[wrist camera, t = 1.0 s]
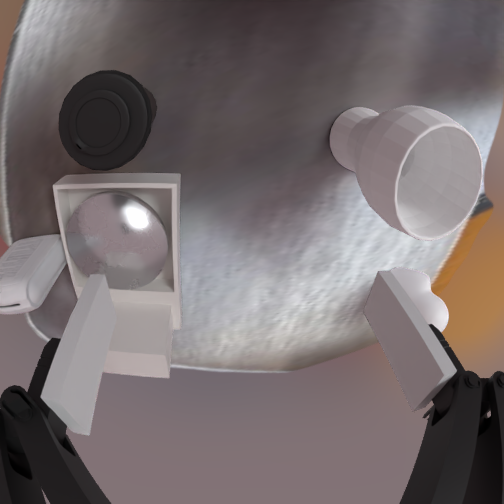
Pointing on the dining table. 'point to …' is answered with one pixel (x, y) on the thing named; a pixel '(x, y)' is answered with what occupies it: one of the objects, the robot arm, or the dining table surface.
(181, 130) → the dining table surface
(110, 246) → the pan
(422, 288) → the figurine
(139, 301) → the base
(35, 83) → the dining table surface
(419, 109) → the cup
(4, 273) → the photo printer
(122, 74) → the coffee cup
